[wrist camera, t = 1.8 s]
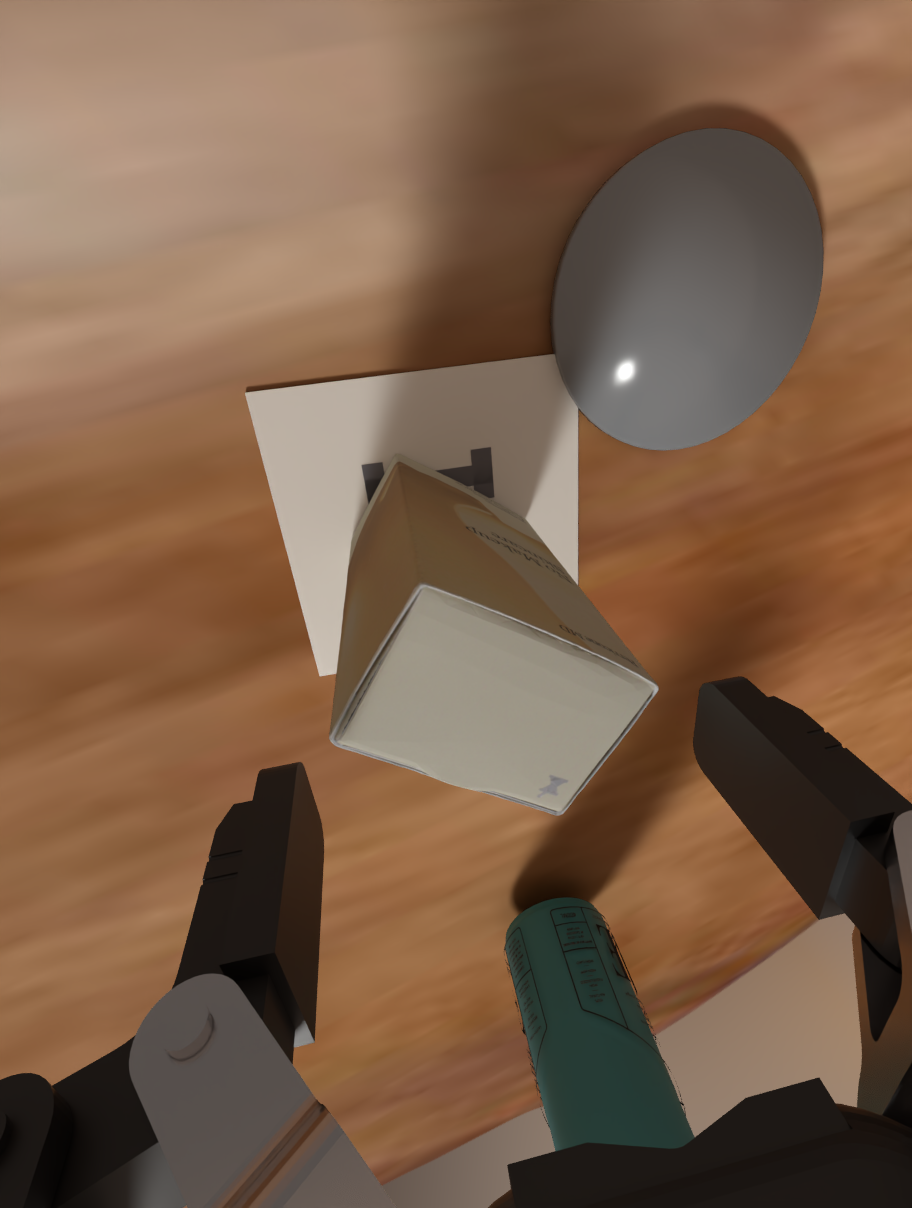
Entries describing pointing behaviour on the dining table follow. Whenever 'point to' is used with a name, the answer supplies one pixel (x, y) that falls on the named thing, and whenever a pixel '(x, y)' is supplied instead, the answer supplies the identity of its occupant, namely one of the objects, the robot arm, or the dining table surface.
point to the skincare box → (475, 649)
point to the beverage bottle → (589, 1032)
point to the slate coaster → (687, 289)
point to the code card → (426, 435)
